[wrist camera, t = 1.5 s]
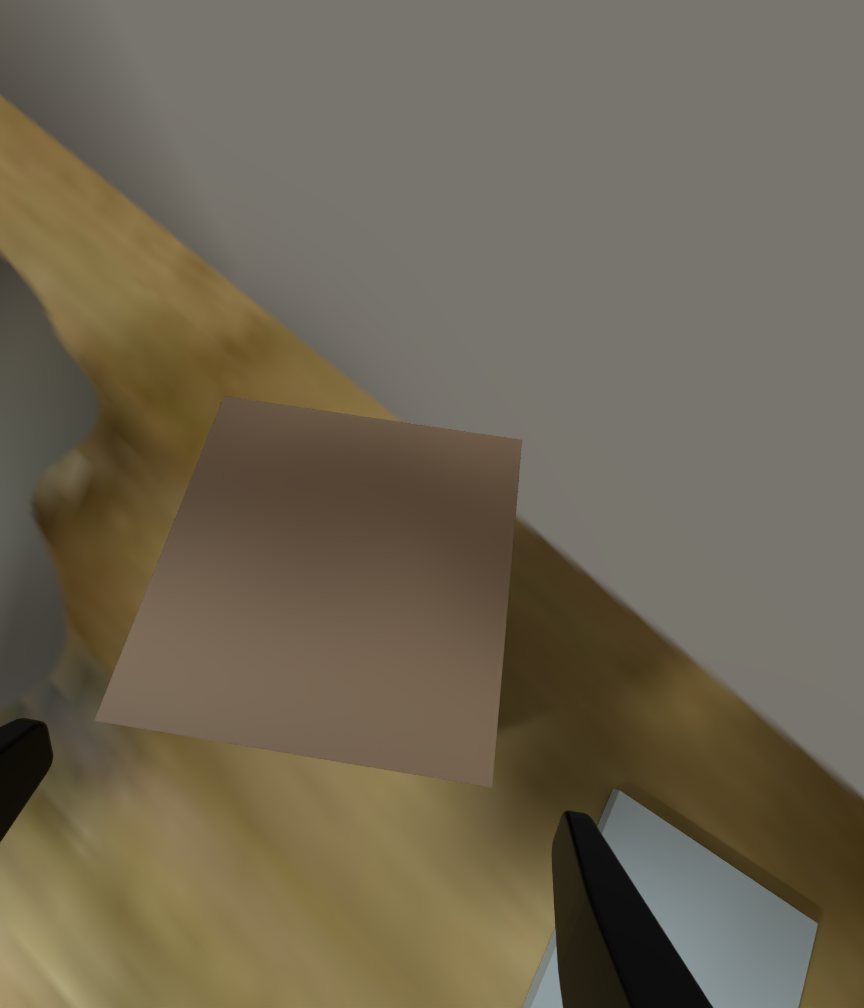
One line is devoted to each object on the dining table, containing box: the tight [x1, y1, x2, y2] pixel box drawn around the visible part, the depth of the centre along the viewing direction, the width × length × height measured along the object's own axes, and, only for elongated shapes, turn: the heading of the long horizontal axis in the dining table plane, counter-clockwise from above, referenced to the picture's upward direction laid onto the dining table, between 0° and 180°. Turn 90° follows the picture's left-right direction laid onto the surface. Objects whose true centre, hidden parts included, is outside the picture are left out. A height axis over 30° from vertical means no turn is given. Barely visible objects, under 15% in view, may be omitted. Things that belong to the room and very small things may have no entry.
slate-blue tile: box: [522, 788, 818, 1008], centre depth 15 cm, size 7×7×1 cm
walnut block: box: [95, 396, 522, 787], centre depth 14 cm, size 6×6×12 cm
